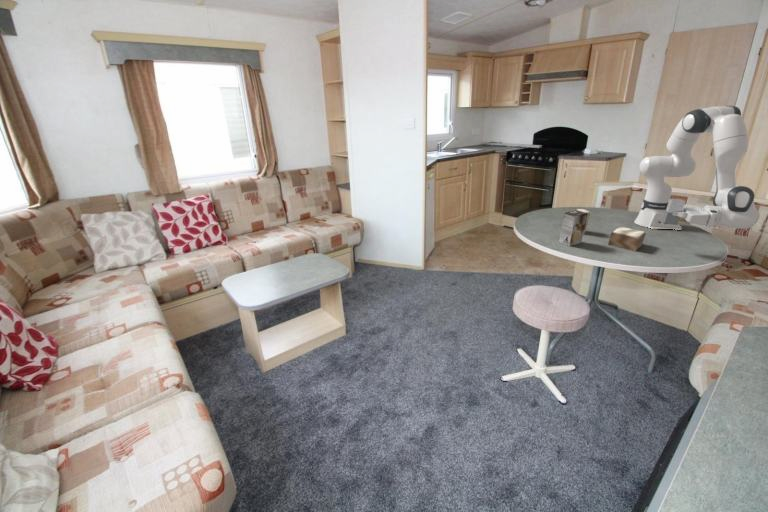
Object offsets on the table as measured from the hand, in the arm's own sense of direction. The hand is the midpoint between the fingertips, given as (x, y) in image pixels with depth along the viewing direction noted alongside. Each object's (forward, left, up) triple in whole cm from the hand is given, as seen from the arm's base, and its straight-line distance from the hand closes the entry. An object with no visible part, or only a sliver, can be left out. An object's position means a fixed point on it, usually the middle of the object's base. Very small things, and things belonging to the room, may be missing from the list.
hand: (671, 211), depth 169 cm
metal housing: (-1, 0, -5) cm, 6 cm away
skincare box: (+34, -14, -19) cm, 42 cm away
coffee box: (+40, +6, -19) cm, 45 cm away
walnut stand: (+14, -1, -19) cm, 24 cm away
